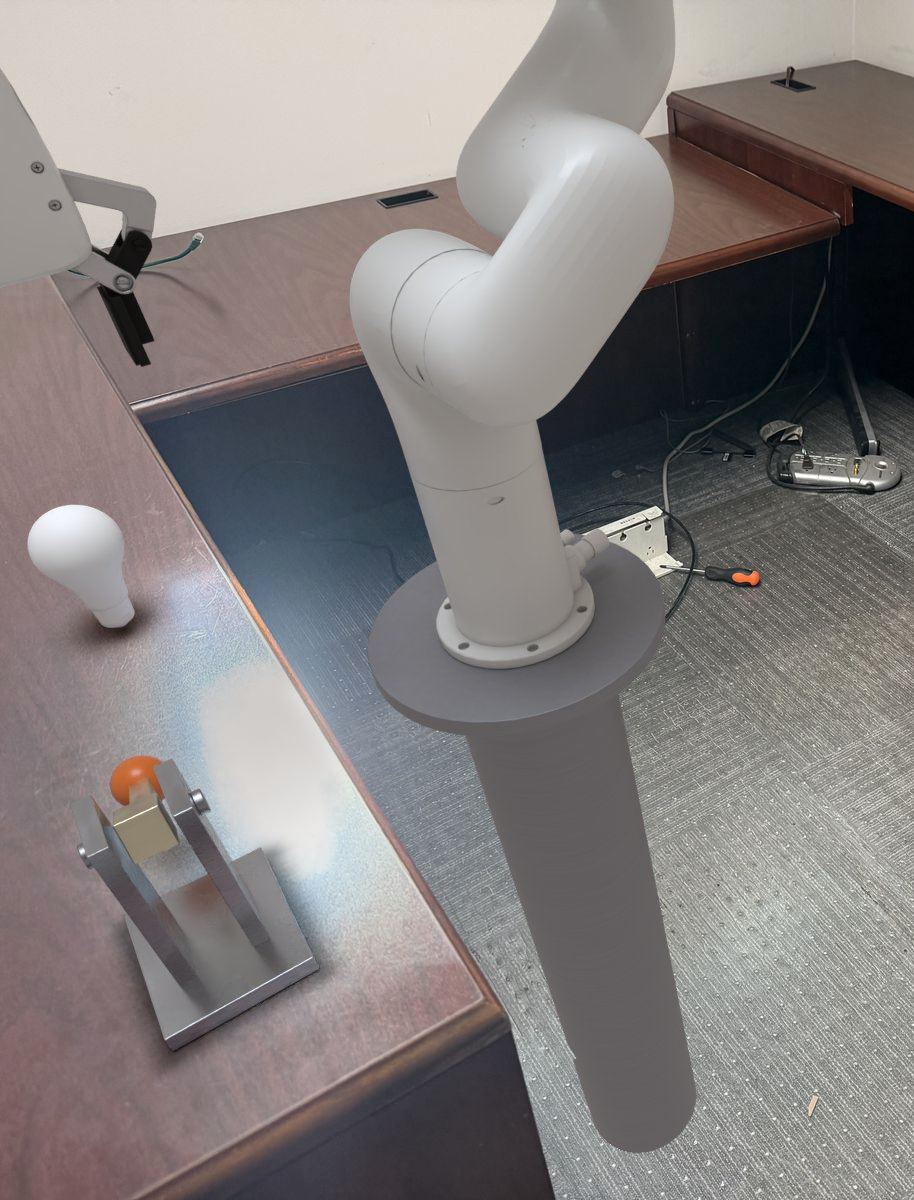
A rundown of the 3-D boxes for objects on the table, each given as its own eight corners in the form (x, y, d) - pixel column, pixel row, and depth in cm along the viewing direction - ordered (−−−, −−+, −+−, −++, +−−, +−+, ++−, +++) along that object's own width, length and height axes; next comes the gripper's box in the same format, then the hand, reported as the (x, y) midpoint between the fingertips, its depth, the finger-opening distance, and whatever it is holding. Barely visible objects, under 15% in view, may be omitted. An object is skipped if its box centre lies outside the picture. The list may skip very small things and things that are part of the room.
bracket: (131, 927, 65) (28, 785, 57) (267, 858, 69) (187, 715, 61) (173, 1052, 59) (63, 912, 51) (319, 969, 63) (239, 826, 55)
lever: (125, 811, 67) (99, 766, 66) (180, 785, 68) (156, 741, 67) (127, 877, 56) (97, 824, 55) (193, 845, 57) (164, 793, 56)
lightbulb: (92, 607, 90) (27, 495, 83) (171, 595, 90) (113, 483, 83) (69, 655, 85) (-2, 541, 78) (152, 642, 86) (90, 528, 79)
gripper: (59, -8, 54) (193, 316, 65) (-389, 56, 46) (-152, 412, 57) (89, 15, 49) (228, 360, 60) (-404, 90, 42) (-142, 471, 52)
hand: (43, 385), depth 59 cm, fingers open, 9 cm apart
